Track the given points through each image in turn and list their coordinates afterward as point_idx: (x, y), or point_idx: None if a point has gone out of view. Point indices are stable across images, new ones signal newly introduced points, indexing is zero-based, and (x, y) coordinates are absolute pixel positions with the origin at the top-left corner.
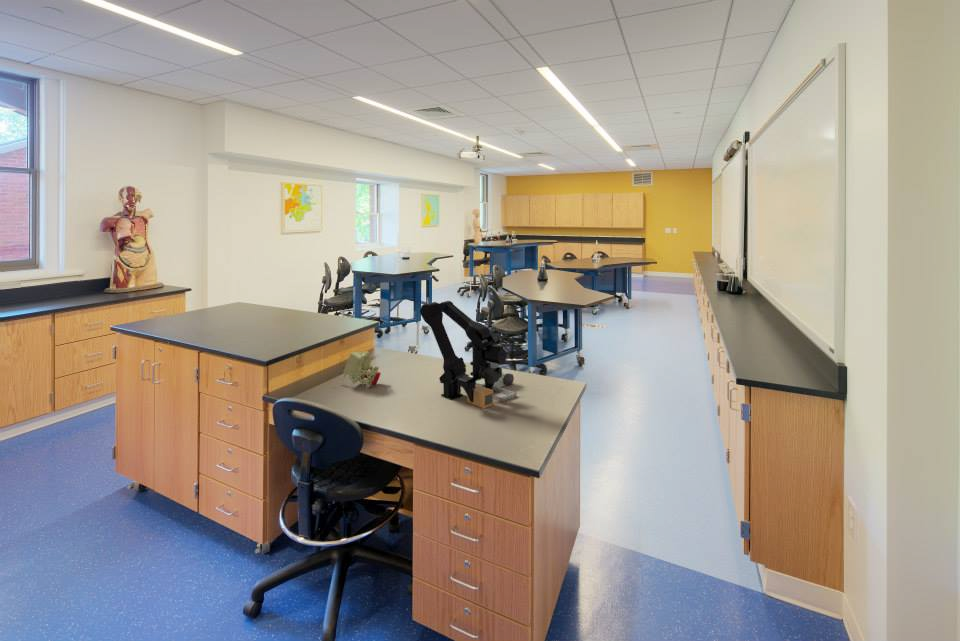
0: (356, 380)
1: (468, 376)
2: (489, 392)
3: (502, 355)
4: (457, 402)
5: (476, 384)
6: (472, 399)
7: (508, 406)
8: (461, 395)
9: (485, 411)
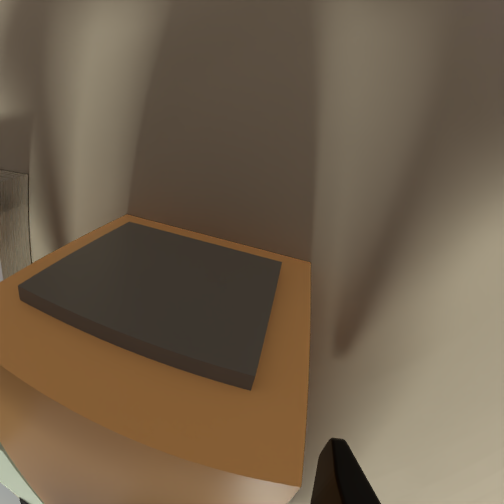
0: None
1: (25, 500)
2: (46, 363)
3: None
4: None
5: None
6: (359, 472)
7: (80, 26)
8: None
9: (408, 181)
